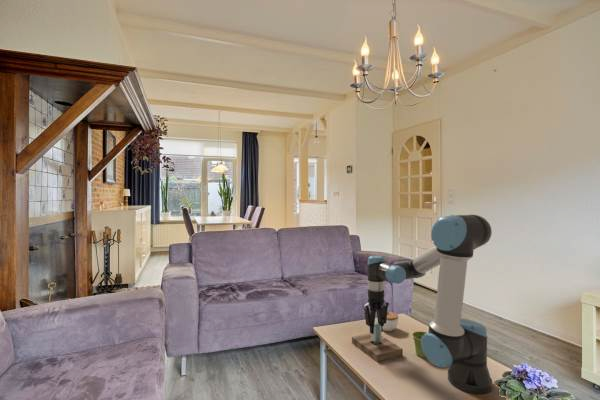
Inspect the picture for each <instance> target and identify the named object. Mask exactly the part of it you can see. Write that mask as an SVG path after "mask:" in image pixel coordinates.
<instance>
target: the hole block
mask: <svg viewBox="0 0 600 400" xmlns="http://www.w3.org/2000/svg"><path fill="white" fill-rule="evenodd" d="M351 344H352V345H354V346H355V347H357V348H358V349H360V350H361V351H362V352H363V353H365V355H367V356H369V357H370V359H373V361H375V362H376V363H377V362H378V363H379V362H383V361H386V360H391V359H394V358H395V359H396V358H398V357H399V358H400V357H402V356H403V354H404V353H403V348H402V347H400V346H398V345H397V344H396V343H394V342H392V341H391V340H389V339H388V338H386V337H384V336H383V335H381V340H380V345H374V344H373V340H372V339H371V333H370V332H369V333H365V334H360V335H354V336H351Z"/></svg>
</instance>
